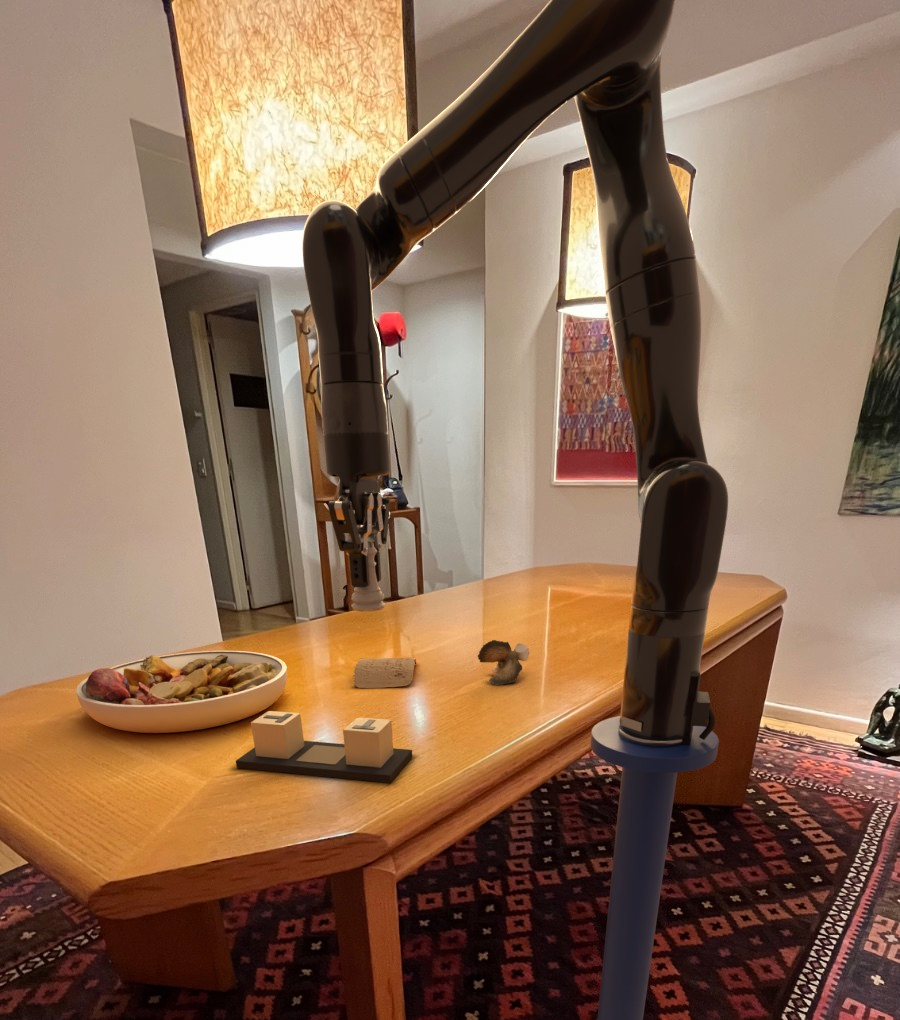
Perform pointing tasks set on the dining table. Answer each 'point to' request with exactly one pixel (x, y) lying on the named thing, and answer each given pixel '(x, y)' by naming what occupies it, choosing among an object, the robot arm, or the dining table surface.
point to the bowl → (183, 690)
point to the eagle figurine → (504, 660)
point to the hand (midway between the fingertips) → (366, 583)
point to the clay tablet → (383, 672)
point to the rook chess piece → (369, 589)
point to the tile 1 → (277, 734)
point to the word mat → (327, 763)
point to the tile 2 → (368, 742)
